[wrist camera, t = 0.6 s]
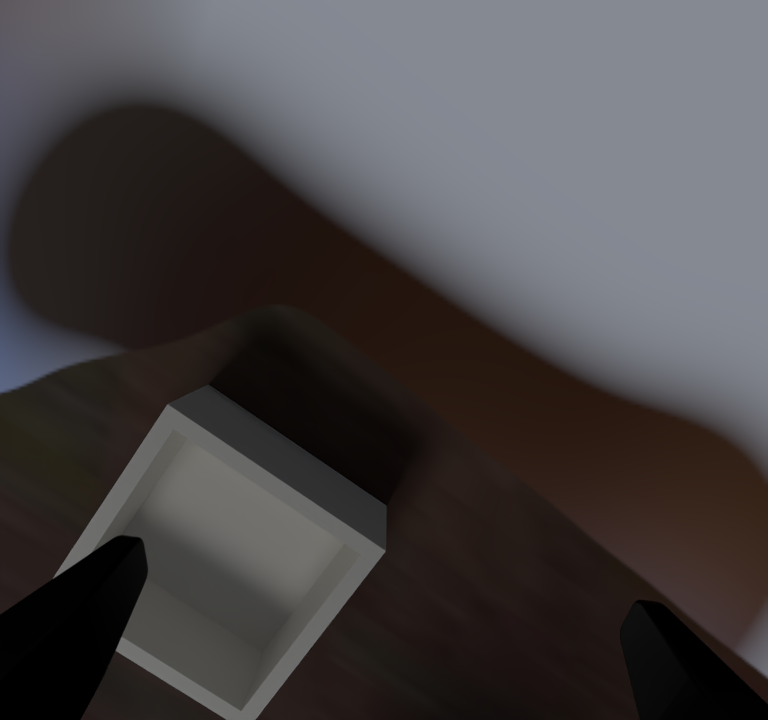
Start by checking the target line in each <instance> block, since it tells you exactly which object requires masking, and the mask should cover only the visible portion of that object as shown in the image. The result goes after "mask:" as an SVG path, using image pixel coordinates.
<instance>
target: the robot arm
mask: <svg viewBox="0 0 768 720" xmlns="http://www.w3.org/2000/svg"><path fill="white" fill-rule="evenodd" d="M147 575H148V563H147V557H146V551H145V545H144V541H143V540H142V539H141V538H140V537H135V536H127V535H119V536H116V537H114V538H113V539H111V540H110V541H108V542H107V543H105V544H104V545H102V546H101V547H99V548H98V549H96V550H95V551H93V552H92V553H90V554H89V555H87V556H86V557H84V558H83V559H82V560H80V561H79V562H77V563H76V564H74V565H73V566H71V567H70V568H68V569H67V570H65V571H64V572H62V573H61V574H59V575H58V576H56V577H55V578H53V579H52V580H51V581H49V582H48V583H46V584H45V585H43V586H42V587H40V588H39V589H37V590H36V591H34V592H33V593H31V594H30V595H28V596H27V597H25V598H24V599H22V600H21V601H19V602H18V603H17V604H15V605H14V606H12V607H11V608H9V609H8V610H6V611H5V612H3V613H2V614H0V720H80V719H81V718H82V716H83V714H84V712H85V710H86V709H87V707H88V705H89V703H90V701H91V699H92V698H93V696H94V694H95V692H96V690H97V688H98V687H99V685H100V683H101V681H102V679H103V677H104V675H105V673H106V671H107V669H108V667H109V664H110V662H111V660H112V658H113V656H114V653H115V651H116V649H117V647H118V644H119V642H120V640H121V637H122V635H123V633H124V630H125V628H126V626H127V623H128V621H129V619H130V617H131V614H132V612H133V610H134V607H135V605H136V603H137V600H138V598H139V596H140V593H141V591H142V589H143V587H144V584H145V582H146V579H147ZM620 639H621V644H622V649H623V653H624V657H625V661H626V665H627V669H628V673H629V677H630V682H631V686H632V690H633V694H634V698H635V702H636V706H637V711H638V715H639V719H640V720H768V704H767V703H766V702H765V701H764V700H763V699H762V698H761V697H760V696H759V695H758V694H757V693H756V692H755V691H753V690H752V689H751V688H750V687H749V686H748V685H747V684H746V683H745V682H744V681H743V680H742V679H741V678H740V677H739V676H738V675H737V674H736V673H735V672H734V671H733V670H732V669H731V668H730V667H729V666H727V665H726V664H725V663H724V662H723V661H722V660H721V659H720V658H719V657H718V656H717V655H716V654H715V653H714V652H713V651H712V650H711V649H710V648H709V647H708V646H707V645H706V644H705V643H704V642H703V641H701V640H700V639H699V638H698V637H697V636H696V635H695V634H694V633H693V632H692V631H691V630H690V629H689V628H688V627H687V626H686V625H685V624H684V623H683V622H682V621H681V620H680V619H679V618H678V617H677V616H676V615H674V614H673V613H672V612H671V611H670V610H669V609H668V608H667V607H666V606H665V605H663V604H662V603H660V602H656V601H648V600H637V601H636V602H634V604H633V606H632V607H631V609H630V611H629V613H628V615H627V617H626V619H625V620H624V622H623V624H622V626H621V630H620Z"/></svg>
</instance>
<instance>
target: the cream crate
mask: <svg viewBox="0 0 768 720" xmlns="http://www.w3.org/2000/svg"><path fill="white" fill-rule="evenodd" d="M386 515H387V506H386V505H385V504H383V503H382V502H380V501H379V500H377V499H376V498H375V497H373V496H372V495H370V494H369V493H367V492H366V491H364V490H363V489H361V488H360V487H358V486H357V485H355V484H354V483H352V482H351V481H350V480H348V479H347V478H345V477H344V476H342V475H341V474H339V473H338V472H336V471H335V470H333V469H332V468H330V467H329V466H328V465H326V464H325V463H323V462H322V461H320V460H319V459H317V458H316V457H314V456H313V455H311V454H310V453H308V452H307V451H306V450H304V449H303V448H301V447H300V446H298V445H297V444H295V443H294V442H292V441H291V440H289V439H288V438H286V437H285V436H283V435H282V434H281V433H279V432H278V431H276V430H275V429H273V428H272V427H270V426H269V425H267V424H266V423H264V422H263V421H261V420H260V419H259V418H257V417H256V416H254V415H253V414H251V413H250V412H248V411H247V410H245V409H244V408H242V407H241V406H239V405H238V404H237V403H235V402H234V401H232V400H231V399H229V398H228V397H226V396H225V395H223V394H222V393H220V392H219V391H217V390H216V389H214V388H213V387H212V386H210V385H209V384H208V385H206V386H204V387H202V388H200V389H198V390H196V391H194V392H192V393H190V394H188V395H186V396H183V397H181V398H179V399H177V400H175V401H173V402H171V403H169V404H167V406H166V407H165V409H164V410H163V412H162V414H161V415H160V417H159V418H158V420H157V421H156V423H155V424H154V426H153V427H152V429H151V430H150V432H149V433H148V435H147V436H146V438H145V439H144V441H143V442H142V444H141V445H140V447H139V448H138V450H137V452H136V453H135V455H134V456H133V458H132V459H131V461H130V462H129V464H128V465H127V467H126V468H125V470H124V471H123V473H122V474H121V476H120V477H119V479H118V480H117V482H116V483H115V485H114V486H113V488H112V490H111V491H110V493H109V494H108V496H107V497H106V499H105V500H104V502H103V503H102V505H101V506H100V508H99V509H98V511H97V512H96V514H95V515H94V517H93V518H92V520H91V521H90V523H89V524H88V526H87V528H86V529H85V531H84V532H83V534H82V535H81V537H80V538H79V540H78V541H77V543H76V544H75V546H74V547H73V549H72V550H71V552H70V553H69V555H68V556H67V558H66V559H65V561H64V562H63V564H62V566H61V567H60V569H59V570H58V572H57V573H56V575H55V576H54V578H55V577H56V576H58V575H59V574H61V573H62V572H64V571H65V570H67V569H68V568H70V567H71V566H73V565H74V564H76V563H77V562H79V561H80V560H82V559H83V558H84V557H86V556H87V555H89V554H90V553H92V552H93V551H95V550H96V549H98V548H99V547H101V546H102V545H104V544H105V543H107V542H108V541H110V540H111V539H113V538H114V537H116V536H119V535H127V536H135V537H140V538H141V539H142V540H143V541H144V545H145V551H146V557H147V563H148V575H147V579H146V582H145V584H144V587H143V589H142V591H141V593H140V596H139V598H138V600H137V603H136V605H135V607H134V610H133V612H132V614H131V617H130V619H129V621H128V623H127V626H126V628H125V630H124V633H123V635H122V637H121V640H120V642H119V644H118V647H117V649H116V651H117V652H119V653H120V654H122V655H123V656H125V657H127V658H128V659H130V660H131V661H133V662H135V663H136V664H138V665H140V666H141V667H143V668H144V669H146V670H148V671H149V672H151V673H152V674H154V675H156V676H157V677H159V678H160V679H162V680H164V681H165V682H167V683H169V684H170V685H172V686H173V687H175V688H177V689H178V690H180V691H181V692H183V693H185V694H186V695H188V696H189V697H191V698H193V699H194V700H196V701H198V702H199V703H201V704H202V705H204V706H206V707H207V708H209V709H210V710H212V711H214V712H215V713H217V714H218V715H220V716H222V717H223V718H225V719H227V720H255V719H256V718H257V717H258V716H259V714H260V713H261V712H262V710H263V709H264V708H265V706H266V705H267V704H268V703H269V701H270V700H271V699H272V697H273V696H274V695H275V694H276V692H277V691H278V690H279V688H280V687H281V686H282V685H283V683H284V682H285V681H286V679H287V678H288V677H289V675H290V674H291V673H292V672H293V670H294V669H295V668H296V666H297V665H298V664H299V663H300V661H301V660H302V659H303V657H304V656H305V655H306V653H307V652H308V651H309V650H310V648H311V647H312V646H313V644H314V643H315V642H316V641H317V639H318V638H319V637H320V635H321V634H322V633H323V631H324V630H325V629H326V628H327V626H328V625H329V624H330V622H331V621H332V620H333V619H334V617H335V616H336V615H337V613H338V612H339V611H340V609H341V608H342V607H343V606H344V604H345V603H346V602H347V600H348V599H349V598H350V597H351V595H352V594H353V593H354V591H355V590H356V589H357V588H358V586H359V585H360V584H361V582H362V581H363V580H364V578H365V577H366V576H367V575H368V573H369V572H370V571H371V569H372V568H373V567H374V566H375V564H376V563H377V562H378V560H379V559H380V558H381V556H382V555H383V554H384V553H385V551H386Z"/></svg>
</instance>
